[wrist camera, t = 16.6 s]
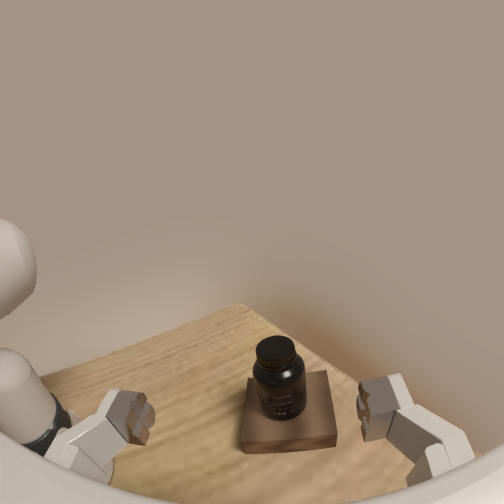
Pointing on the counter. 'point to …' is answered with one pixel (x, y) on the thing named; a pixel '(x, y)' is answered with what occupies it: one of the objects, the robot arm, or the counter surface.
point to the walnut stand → (291, 421)
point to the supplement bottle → (280, 378)
